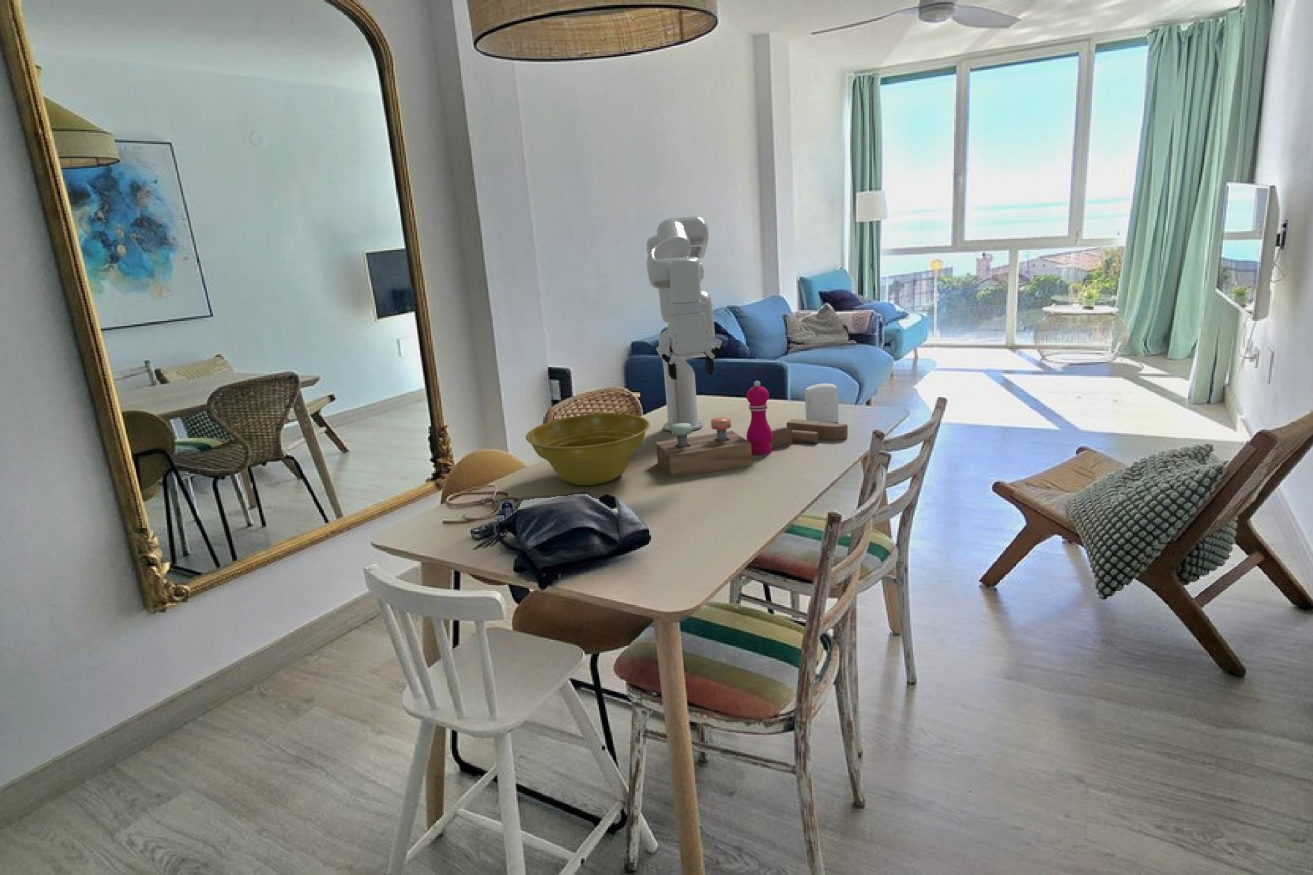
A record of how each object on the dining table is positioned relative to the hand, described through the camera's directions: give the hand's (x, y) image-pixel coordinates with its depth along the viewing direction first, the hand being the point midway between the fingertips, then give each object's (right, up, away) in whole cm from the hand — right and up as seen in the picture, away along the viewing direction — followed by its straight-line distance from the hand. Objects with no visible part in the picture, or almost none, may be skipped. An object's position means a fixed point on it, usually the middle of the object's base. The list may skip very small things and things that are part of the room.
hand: (691, 376), depth 193 cm
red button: (+9, -18, +9) cm, 22 cm away
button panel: (+4, -23, +9) cm, 25 cm away
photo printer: (+42, -12, +39) cm, 58 cm away
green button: (-2, -20, +6) cm, 21 cm away
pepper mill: (+20, -20, +16) cm, 32 cm away
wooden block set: (+34, -18, +21) cm, 43 cm away
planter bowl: (-26, -26, +6) cm, 37 cm away
